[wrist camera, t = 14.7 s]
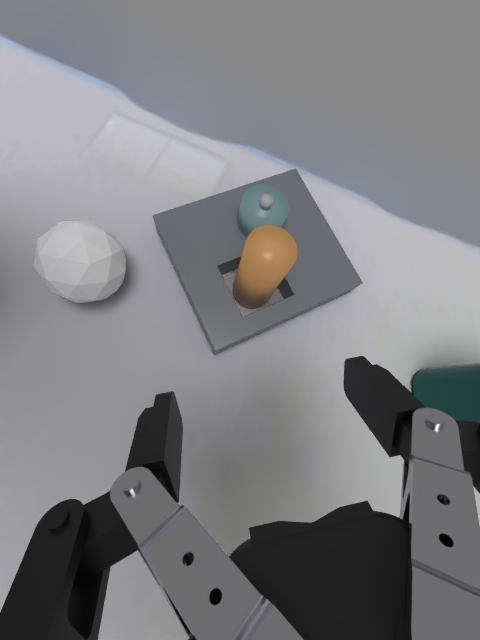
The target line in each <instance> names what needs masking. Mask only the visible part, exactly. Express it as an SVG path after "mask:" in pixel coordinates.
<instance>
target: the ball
mask: <svg viewBox="0 0 480 640" xmlns="http://www.w3.org/2000/svg"><path fill="white" fill-rule="evenodd" d="M126 263H127V258H126V256H125V253H124V250H123V248H122V246H121V245H120V243H119V241H118V240H117V238H116V237H115V236H114V235H113V234H111V233H109V232H108V231H106V230H104V229H103V228H101V227H99V226H98V225H96V224H94V223H93V222H91V221H60V222H58V223H57V224H56V225H55V226H53V227H52V228H51V229H49V230H48V231H47V232H46V233H44V234H43V235H42V236H40V237H39V238H38V239H37V245H36V253H35V260H34V268H35V270H36V271H37V273H38V274H39V276H40V277H41V279H42V280H43V282H44V283H45V285H46V286H47V288H48V289H49V291H50V292H52V293H54V294H57V295H59V296H61V297H64V298H66V299H68V300H71V301H73V302H76V303H84V302H91V301H97V300H104V299H106V298H108V297H109V296H110V295H112V294H113V293H115V292H116V291H117V290H118V288H119V287H120V286H121V285H122V283H123V280H124V276H125V272H126Z"/></svg>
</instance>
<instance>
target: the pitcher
mask: <svg viewBox="0 0 480 640" xmlns="http://www.w3.org/2000/svg"><path fill="white" fill-rule="evenodd" d="M413 393H414V396H415V397H416V398H417V399H418V400H419V401H420V402H421V403H422V404H423V405H424V406H425V407H426V408H433V409H437V410H440V411H442V412H444V413H446V414H448V415H449V416H451V417H452V418H453V419H454V420H455V421H470V422H480V363H473V364H463V365H454V366H444V367H435V368H426V369H423V370H421V371H419V372H418V373H417V374H416V375H415V377H414V380H413Z"/></svg>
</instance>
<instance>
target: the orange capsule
mask: <svg viewBox="0 0 480 640" xmlns="http://www.w3.org/2000/svg"><path fill="white" fill-rule="evenodd" d="M297 254H298V250H297V245H296V242H295V240H294V238H293V237H292V236H291V234H290V233H288V232H287V231H286V230H284V229H283V228H281V227H278V226H274V225H263V226H260V227H258V228H256V229H254V230H253V231H252V232H251V233H250V234H249V235H248V237H247V239H246V243H245V246H244V250H243V253H242V257H241V260H240V263H239V267H238V270H237V274H236V277H235V281H234V284H233V290H232V291H233V296H234V298H235V300H236V301H237V303H238V304H240V305H241V306H243V307H245V308H248V309H257V308H260V307H262V306H263V305H264V304H265V303H266V302H267V301H268V299H269V298H270V297H271V295H272V294H273V292H274V291H275V290H276V288H277V287H278V285H279V284H280V283H281V281H282V280H283V278H284V277H285V276H286V274H287V273H288V271H289V270H290V269H291V267H292V266H293V264H294V263H295V261H296V259H297Z"/></svg>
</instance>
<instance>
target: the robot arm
mask: <svg viewBox="0 0 480 640" xmlns="http://www.w3.org/2000/svg"><path fill="white" fill-rule="evenodd" d="M344 391H345V394H346V396H347V398H348V400H349V401H350V402H351V404H352V405H353V406H354V408H355V409H356V411H357V412H358V413H359V415H360V416H361V418H362V419H363V420H364V422H365V423H366V425H367V426H368V427H369V429H370V430H371V432H372V433H373V434H374V436H375V437H376V439H377V440H378V441H379V443H380V444H381V446H382V447H383V448H384V450H385V451H386V453H387V454H388V455H389V457H393V456H397V455H401V456H402V458H403V459H404V463H403V474H402V491H401V507H400V516H399V518H398V517H396V516H394V515H391V514H387V513H383V512H378V511H373V510H372V508H371V506H370V504H369V503H368V501H364V502H360V503H356V504H351V505H347V506H342V507H339V508H337V509H335V510H334V511H332V512H330V513H329V514H327V515H325V516H323V517H322V518H320V519H318V520H317V521H315V522H312V523H304V522H287V521H277V522H272V523H268V524H264V525H259V526H255V527H251V528H249V530H250V536H251V538H250V539H248V540H247V541H245V542H244V543H242V544H241V545H240V546H238V547H237V548H236V549H235V550H234V551H233V552H232V554H231V555H230V556H229V557H228V556H227V555H226V553H225V552H224V551H223V550H222V549H221V548H220V546H219V545H218V544H217V543H216V542H215V541H214V539H213V538H212V537H211V536H210V535H209V534H208V532H207V531H206V530H205V529H204V528H203V526H202V525H201V524H200V523H199V522H198V521H197V519H196V518H195V517H194V516H193V515H192V514H191V512H190V511H189V510H188V509H187V508H186V507H185V506H181V507H180V506H179V505H178V504H177V502H179V489H180V471H181V453H182V435H183V425H182V418H181V414H180V411H179V408H178V404H177V401H176V397H175V394H174V392H173V391H172V392H167V393H161V394H156V396H155V401H154V406H153V407H150V408H145V410H144V411H143V412H142V414H141V415H140V417H139V418H138V422H137V426H136V430H135V434H134V439H133V442H132V446H131V450H130V454H129V458H128V462H127V466H126V470H125V472H124V473H123V474H122V475H120V476H119V477H118V478H117V480H116V481H115V482H114V484H113V486H112V488H111V490H110V491H109V492H107V493H106V494H104V495H102V496H100V497H98V498H96V499H94V500H92V501H90V502H88V503H87V504H85V505H83V504H82V503H81V502H80V501H79V500H76V499H69V500H65V501H63V502H60V503H58V504H57V505H55V506H54V507H52V508H51V509H50V510H49V511H48V512H47V513H46V514H45V515H44V516H43V517H42V518H41V520H40V521H39V523H38V524H37V526H36V528H35V531H34V533H33V535H32V538H31V540H30V543H29V545H28V547H27V550H26V552H25V555H24V557H23V559H22V562H21V564H20V567H19V569H18V571H17V574H16V576H15V579H14V581H13V583H12V586H11V588H10V591H9V593H8V595H7V598H6V600H5V603H4V605H3V607H2V610H1V612H0V640H98V635H99V629H100V623H101V618H102V612H103V606H104V601H105V595H106V589H107V584H108V578H109V572H110V567H111V566H112V565H114V564H115V563H117V562H119V561H120V560H122V559H124V558H125V557H127V556H129V555H130V554H132V553H134V552H135V551H137V550H138V552H139V553H140V555H141V557H142V558H143V560H144V562H145V563H146V565H147V567H148V568H149V570H150V572H151V573H152V575H153V577H154V578H155V580H156V582H157V583H158V585H159V587H160V589H161V590H162V592H163V594H164V595H165V597H166V599H167V601H168V602H169V604H170V606H171V608H172V610H173V611H174V613H175V615H176V616H177V618H178V620H179V622H180V623H181V625H182V627H183V628H184V630H185V632H186V633H187V635H188V637H189V639H188V640H480V527H479V520H478V514H477V508H476V501H475V495H474V489H473V486H474V487H475V488H476V490H477V491H478V492H479V493H480V422H470V421H455V420H454V419H453V418H452V417H451V416H449V415H448V414H446V413H444V412H442V411H440V410H437V409H433V408H426V407H425V406H424V405H423V404H422V403H421V402H420V401H419V400H418V399H417V398H416V397H415V396H414V395H413V394H412V393H411V392H410V391H409V390H408V389H407V388H406V387H405V386H404V385H403V386H402V384H401V383H400V382H399V381H398V380H397V379H395V377H394V376H393V375H392V374H391V373H390V372H389V371H388V370H386V369H384V368H382V367H380V366H378V365H377V364H376V365H372V364H371V363H370V362H369V361H368V360H367V359H366V358H365V357H363V356H359V357H354V358H349V359H346V360H345V366H344Z"/></svg>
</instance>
